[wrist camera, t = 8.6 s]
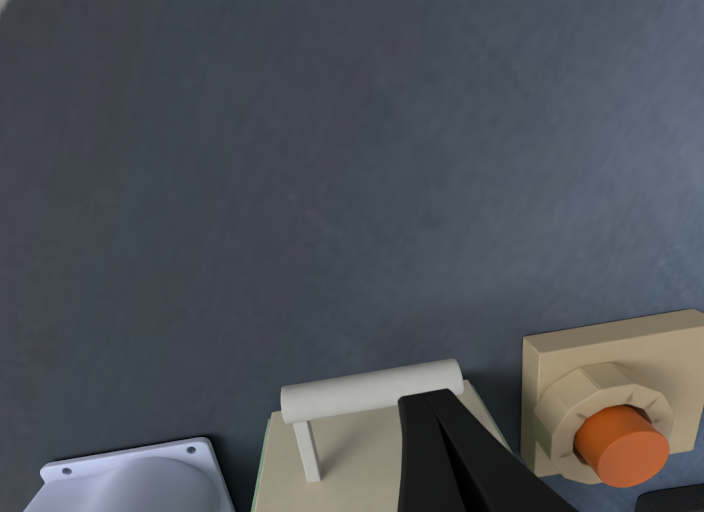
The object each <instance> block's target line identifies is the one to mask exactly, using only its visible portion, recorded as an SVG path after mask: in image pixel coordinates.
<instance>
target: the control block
mask: <svg viewBox="0 0 704 512" xmlns="http://www.w3.org/2000/svg"><path fill="white" fill-rule="evenodd" d="M616 405H623V406H627V407H630V408H632V409H634V410H635V411H636V412H637V413H639V414H640V415H641V416H642V417H643V418H644V419H645V420H646V421H647V422H649V423H650V424H651V425H652V426H653V427H654V428H655V429H656V430H657V431H659V432H660V433H661V434H662V435H663V436H664V437H665V438H666V439H667V441H668V443H669V447H670V453H669V454H674V453H680V452H686V451H691V450H693V448H694V444H695V440H696V435H697V431H698V427H699V423H700V419H701V414H702V410H703V406H704V313H702V312H700V311H697V310H695V309H687V310H681V311H675V312H669V313H663V314H657V315H651V316H645V317H639V318H633V319H627V320H621V321H615V322H609V323H603V324H597V325H591V326H585V327H579V328H573V329H567V330H561V331H555V332H549V333H543V334H537V335H531V336H525V337H523V367H522V408H521V450H520V455H521V457H522V459H523V460H524V462H525V464H526V465H527V467H528V469H529V470H530V471H532V472H533V473H534V474H535V475H536V476H537V477H544V476H549V475H555V474H562V476H563V477H564V478H566V479H570V480H574V481H577V482H581V483H585V484H589V485H591V484H598V483H603V481H602V480H601V479H600V478H599V477H598V476H597V474H596V473H595V472H594V470H593V469H592V468H591V467H590V465H589V464H588V463H587V462H586V460H585V459H584V458H583V457H582V455H581V454H580V453H579V452H578V450H577V448H576V446H575V434H576V432H577V431H578V429H579V428H580V427H581V425H582V424H583V423H584V421H585V420H586V419H587V418H589V417H590V416H592V415H594V414H595V413H597V412H599V411H600V410H602V409H604V408H605V407H610V406H616Z"/></svg>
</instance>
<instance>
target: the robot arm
mask: <svg viewBox="0 0 704 512" xmlns="http://www.w3.org/2000/svg"><path fill="white" fill-rule="evenodd" d="M397 402H398V409H399V416H400V424H401V431H402V460H401V479H400V488H399V498H398V508H397V512H579V511H578V510H577V509H575V508H574V507H573V506H572V505H570V504H569V503H568V502H567V501H565V500H564V499H563V498H562V497H561V496H559V495H558V494H557V493H556V492H555V491H553V490H552V489H551V488H550V487H549V486H548V485H546V484H545V483H544V482H543V481H542V480H541V479H540V478H538V477H537V476H536V475H535V474H534V473H533V472H532V471H530V470H529V469H528V468H527V467H526V466H525V465H524V464H523V463H522V462H520V461H519V460H518V459H517V458H516V457H515V456H514V455H513V454H512V453H511V452H510V451H509V450H508V449H507V448H506V447H505V446H504V445H503V444H501V443H500V442H499V441H498V440H497V439H496V438H495V437H494V436H493V435H492V434H491V433H490V432H489V431H488V430H487V429H486V428H485V427H484V426H483V425H482V424H481V423H480V422H479V420H478V419H477V418H476V417H475V416H474V415H473V414H472V413H471V412H470V411H469V410H468V409H467V408H466V407H465V405H464V404H463V403H462V402H461V401H460V400H459V399H458V398H457V396H456V395H455V394H454V393H453V392H452V391H451V390H450V389H448V388H445V389H439V390H434V391H428V392H423V393H417V394H412V395H406V396H401V397H400V398H399V399H398V401H397ZM192 447H194V448H192ZM40 474H41V476H42V478H43V480H44V482H45V484H44V486H43V487H42V488H41V490H40V491H39V492H38V493H37V495H36V496H35V497H34V499H33V500H32V501H31V502H30V504H29V505H28V506H27V508H26V509H25V510H24V511H23V512H235V509H234V506H233V503H232V500H231V498H230V495H229V492H228V489H227V486H226V484H225V481H224V478H223V475H222V472H221V469H220V467H219V464H218V461H217V458H216V455H215V453H214V450H213V447H212V444H211V442H210V440H209V439H207V438H205V437H198V438H192V439H186V440H180V441H174V442H168V443H162V444H156V445H151V446H145V447H139V448H133V449H127V450H121V451H115V452H109V453H103V454H97V455H91V456H86V457H80V458H74V459H68V460H62V461H56V462H50V463H47V464H46V465H45V466H44V467H43V468H42V469H41V471H40Z"/></svg>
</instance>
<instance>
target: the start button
mask: <svg viewBox="0 0 704 512" xmlns="http://www.w3.org/2000/svg"><path fill="white" fill-rule="evenodd" d="M575 446H576V448H577V450H578V452H579V453H580V454H581V455H582V457H583V458H584V459H585V460H586V462H587V463H588V464H589V465H590V467H591V468H592V469H593V470H594V472H595V473H596V474H597V476H598V477H599V478H600V479H601V480H602V481H603V482H604V483H606V484H607V485H610V486H613V487H620V488H622V487H631V486H635V485H638V484H640V483H643V482H645V481H647V480H649V479H650V478H652V477H653V476H654V475H656V474H657V473H658V472H659V471H660V470H661V469H662V468H663V466H664V465H665V463H666V462H667V460H668V457H669V453H670V447H669V443H668V441H667V439H666V438H665V437H664V436H663V435H662V434H661V433H660V432H659V431H657V430H656V429H655V428H654V427H653V426H652V425H651V424H650V423H649V422H647V421H646V420H645V419H644V418H643V417H642V416H641V415H640V414H639V413H637V412H636V411H635V410H634V409H632V408H630V407H627V406H623V405H616V406H610V407H605V408H604V409H602V410H600V411H599V412H597V413H595V414H594V415H592V416H590V417H589V418H587V419H586V420H585V421H584V423H583V424H582V425H581V427H580V428H579V429H578V431H577V432H576V434H575Z"/></svg>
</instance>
